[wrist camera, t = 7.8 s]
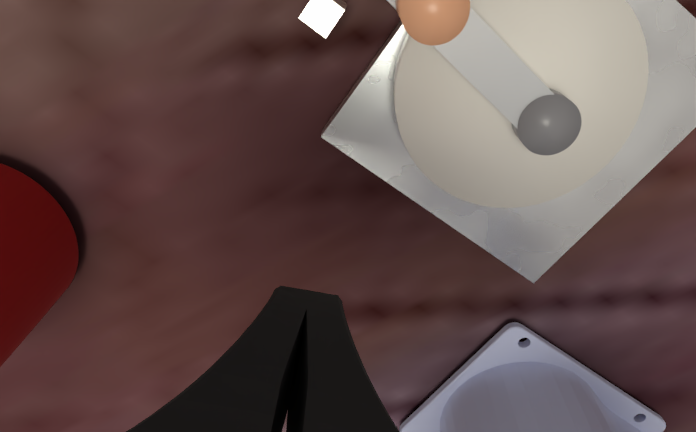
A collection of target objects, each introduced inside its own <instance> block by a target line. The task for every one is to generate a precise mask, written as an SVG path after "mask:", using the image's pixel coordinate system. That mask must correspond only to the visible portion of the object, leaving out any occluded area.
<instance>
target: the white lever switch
mask: <svg viewBox="0 0 696 432" xmlns="http://www.w3.org/2000/svg"><path fill="white" fill-rule="evenodd" d="M387 1H388V2H389V3H390V4H391V5H392V6H393V7H394V8H395V9H396V10H397V13H398V15H399V17H400V19H401V22H402V24H403V26H404V28H405V30H406V31H407V35H406V37H405V40H404V42H403V44H402V46H401V49H400V53H399V56H398V59H397V63H396V68H395V74H394V87H393V95H394V107H395V113H396V118H397V123H398V127H399V132H400V134H401V137H402V140H403V142H404V145H405V147H406V149H407V151H408V153H409V155H410V156H411V158H412V160H413V161H414V162H415V164H416V165H417V167H418V168H419V169H420V171H421V172H422V173H423V174H424V175H425V176H426V177H427V178H428V179H429V180H430V181H432V182H433V183H434V184H435V185H437V186H438V187H439V188H441V189H442V190H444V191H445V192H447V193H449V194H451V195H452V196H454V197H457V198H459V199H461V200H464V201H466V202H469V203H473V204H477V205H481V206H487V207H494V208H517V207H526V206H531V205H536V204H541V203H544V202H547V201H550V200H553V199H556V198H558V197H560V196H562V195H564V194H567V193H569V192H571V191H572V190H574V189H576V188H578V187H579V186H581V185H583V184H584V183H585V182H587V181H588V180H589V179H591V178H592V177H593V176H595V175H596V174H597V173H598V172H600V171H601V170H602V169H603V168H604V167H605V166H606V165H607V164H608V163H609V162H610V161H611V160H612V159H613V157H614V156H615V155H616V154H617V153H618V152H619V150H620V149H621V148H622V146H623V145H624V143H625V142H626V140H627V139H628V137H629V136H630V134H631V132H632V130H633V128H634V126H635V124H636V122H637V120H638V117H639V115H640V112H641V109H642V107H643V103H644V99H645V95H646V91H647V83H648V74H649V68H648V52H647V46H646V40H645V37H644V34H643V31H642V28H641V25H640V23H639V21H638V19H637V17H636V15H635V13H634V11H633V9H632V8H631V7H630V5H629V4H628V3H627V1H626V0H387Z"/></svg>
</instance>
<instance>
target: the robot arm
mask: <svg viewBox="0 0 696 432" xmlns="http://www.w3.org/2000/svg"><path fill="white" fill-rule="evenodd" d="M521 338H527V340H525V341H523V342H519V340H520V339H521ZM287 410H288V416H287V430H286V432H399V430H400V432H663V431H664V430H665V428H666V423H665V421H664V420H663V418H662V417H661V416H660V415H659V414H657V413H655V412H654V411H652V410H651V409H649V408H648V407H646V406H645V405H643V404H642V403H640V402H639V401H637V400H636V399H634V398H633V397H631V396H630V395H628V394H627V393H625V392H624V391H622V390H621V389H619V388H618V387H616V386H615V385H613V384H612V383H610V382H609V381H607V380H605V379H604V378H602V377H601V376H599V375H598V374H596V373H595V372H593V371H592V370H590V369H589V368H587V367H586V366H584V365H583V364H581V363H580V362H578V361H577V360H575V359H574V358H572V357H571V356H569V355H568V354H566V353H565V352H563V351H562V350H560V349H559V348H557V347H555V346H554V345H552V344H551V343H549V342H548V341H546V340H545V339H543V338H542V337H540V336H539V335H537V334H536V333H534V332H533V331H531V330H530V329H528V328H527V327H525V326H524V325H522V324H520V323H518V322H512V323H508V324H507V325H505V326H504V327H503V328H502V329H501V330H500V331H499V332H498V333H497V334H496V335H494V336H493V337H492V338H491V339H490V340H489V341H488V342H487V343H486V344H485V345H484V346H483V347H482V348H481V349H480V350H479V351H478V352H477V353H476V354H474V355H473V356H472V357H471V358H470V359H469V360H468V361H467V362H466V363H465V364H464V365H463V366H462V367H461V368H460V369H459V370H458V371H457V372H455V373H454V374H453V375H452V376H451V377H450V378H449V379H448V380H447V381H446V382H445V383H444V384H443V385H442V386H441V387H440V388H439V389H438V390H437V391H435V392H434V393H433V394H432V395H431V396H430V397H429V398H428V399H427V400H426V401H425V402H424V403H423V404H422V405H421V406H420V407H419V408H418V409H417V410H415V411H414V412H413V413H412V414H411V415H410V416H409V417H408V418H407V419H406V420H405V421H404V422H403V423H402V424H401V425H400V429H399V430H398V429H397V427H396V426H395V424H394V422H393V421H392V419H391V418H390V416H389V414H388V413H387V411H386V409H385V407H384V406H383V404H382V402H381V400H380V398H379V397H378V395H377V393H376V391H375V389H374V387H373V385H372V383H371V381H370V379H369V377H368V375H367V373H366V370H365V368H364V366H363V364H362V361H361V359H360V356H359V354H358V352H357V349H356V347H355V344H354V342H353V339H352V336H351V333H350V330H349V327H348V324H347V321H346V318H345V314H344V310H343V305H342V301H341V299H340V298H339V297H338V296H337V295H331V294H325V293H320V292H314V291H308V290H302V289H297V288H291V287H285V286H280V287H278V288H276V289H275V290H274V292H273V294H272V296H271V298H270V299H269V301H268V302H267V304H266V305H265V307H264V308H263V310H262V311H261V312H260V314H259V315H258V316H257V317H256V319H255V320H254V321H253V322H252V324H251V325H250V326H249V327H248V328H247V329H246V331H245V332H244V333H243V334H242V335H241V337H240V338H239V339H238V340H237V341H236V342H235V343H234V344H233V345H232V346H231V347H230V348H229V349H228V350H227V351H226V352H225V353H224V354H223V355H222V356H221V357H220V358H219V359H218V360H217V361H216V362H215V363H214V364H213V365H212V366H211V367H210V368H209V369H208V370H207V371H206V372H205V373H204V374H203V375H202V376H200V377H199V378H198V379H197V380H196V381H195V382H194V383H192V384H191V385H190V386H189V387H188V388H186V389H185V390H184V391H183V392H181V393H180V394H179V395H178V396H176V397H175V398H174V399H172V400H171V401H170V402H168V403H167V404H166V405H164V406H163V407H162V408H160V409H159V410H158V411H156V412H155V413H154V414H152V415H151V416H149V417H148V418H146V419H145V420H143V421H142V422H141V423H139V424H138V425H136V426H135V427H133V428H131V429H130V430H128V431H126V432H282V428H283V425H284V421H285V417H286V414H287ZM637 414H639V415H637ZM636 415H637V416H636Z"/></svg>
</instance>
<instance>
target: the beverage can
mask: <svg viewBox="0 0 696 432" xmlns="http://www.w3.org/2000/svg"><path fill="white" fill-rule="evenodd" d="M78 258H79V251H78V243H77V238H76V235H75V232H74V229H73V227H72V224H71V222H70V220H69V218H68V217H67V215H66V213H65V212H64V210H63V209H62V207H61V206H60V205H59V204H58V202H57V201H56V200H55V199H54V198H53V197H52V196H51V194H50V193H48V192H47V191H46V190H45V189H44V188H43V187H42V186H41V185H39V184H38V183H37V182H35V181H34V180H33V179H31V178H30V177H28V176H26V175H25V174H23V173H21V172H19V171H18V170H16V169H13V168H11V167H9V166H7V165H4V164H1V163H0V367H1V366H2V364H3V363H4V362H5V361H6V360H7V359H8V357H9V356H10V355H11V354H12V353H13V352H14V350H15V349H16V348H17V347H18V346H19V345H20V343H21V342H22V341H23V340H24V339H25V338H26V336H27V335H28V334H29V333H30V332H31V331H32V329H33V328H34V327H35V326H36V325H37V324H38V322H39V321H40V320H41V319H42V318H43V317H44V315H45V314H46V313H47V312H48V311H49V309H50V308H51V307H52V306H53V305H54V303H55V302H56V301H57V300H58V299H59V298H60V296H61V295H62V294H63V293H64V292H65V290H66V289H67V288H68V287H69V285H70V284H71V282H72V280H73V278H74V276H75V273H76V270H77V266H78Z"/></svg>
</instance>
